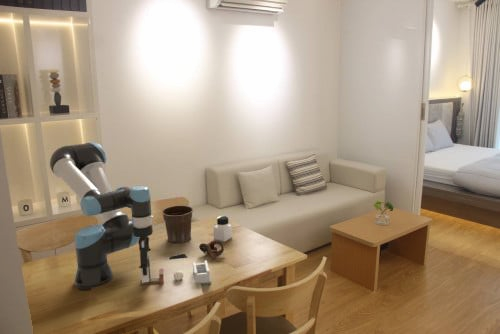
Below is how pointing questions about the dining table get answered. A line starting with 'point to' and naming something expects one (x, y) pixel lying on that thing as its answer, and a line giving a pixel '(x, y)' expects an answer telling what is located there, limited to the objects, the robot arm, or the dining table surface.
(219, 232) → the medicine bottle
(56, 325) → the dining table surface
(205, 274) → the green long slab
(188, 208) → the plant pot
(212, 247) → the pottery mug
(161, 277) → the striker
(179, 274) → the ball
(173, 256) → the phone
